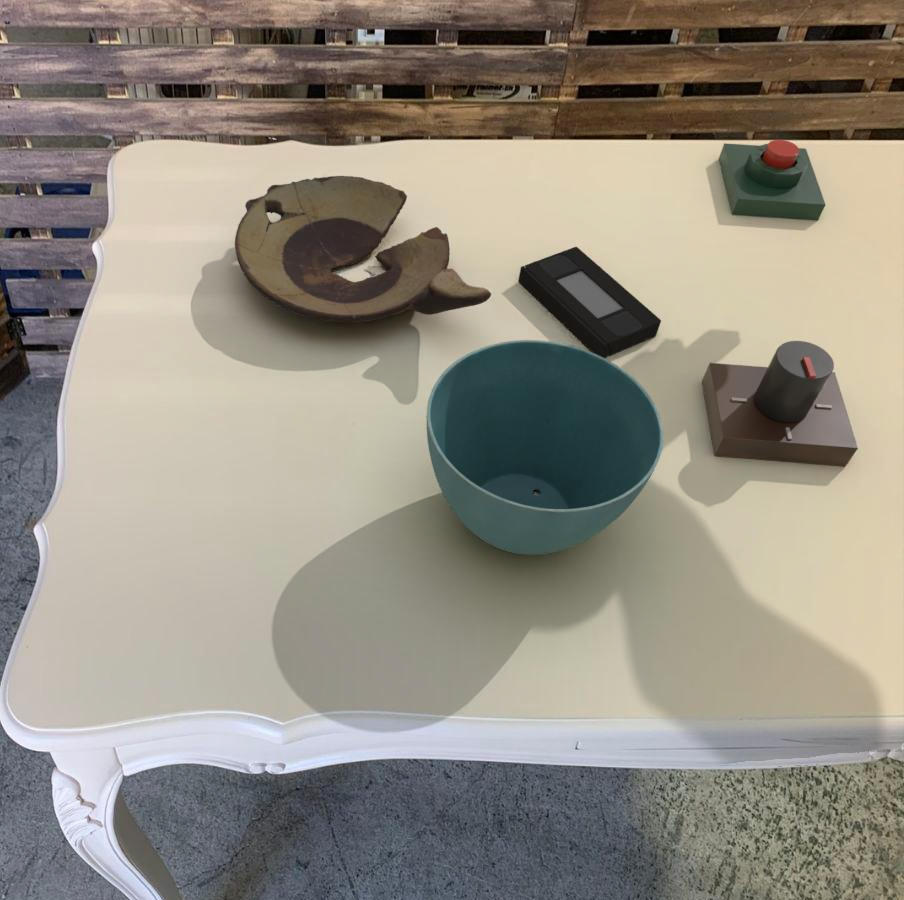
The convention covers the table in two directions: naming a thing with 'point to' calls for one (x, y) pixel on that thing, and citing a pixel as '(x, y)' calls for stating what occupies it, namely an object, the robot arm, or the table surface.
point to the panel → (774, 421)
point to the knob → (793, 381)
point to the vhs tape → (589, 302)
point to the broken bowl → (344, 253)
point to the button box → (769, 185)
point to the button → (780, 154)
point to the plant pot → (540, 443)
